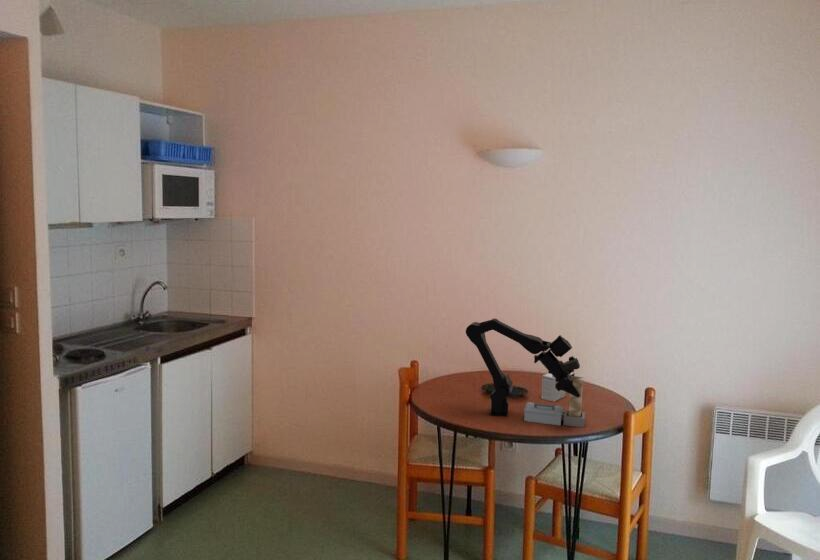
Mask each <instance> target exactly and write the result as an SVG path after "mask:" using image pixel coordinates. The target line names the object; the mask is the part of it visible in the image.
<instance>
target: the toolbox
mask: <svg viewBox="0 0 820 560" xmlns="http://www.w3.org/2000/svg"><path fill="white" fill-rule="evenodd" d="M564 410H565V411H564ZM523 413H524V414H523V415H524V418H523V420H524V422H529V423H537V424H545V425H554V426H561V424H562V422H563V426H570V427H577V428H584V426H585V422H586V412H584V411H581V416H580V417H573V416H569V409H568V410H567V409H565V406H562V405H556V404H555V405H554V404H546V403H539V402H530V401H528V402H526V405H525V408H524V410H523Z"/></svg>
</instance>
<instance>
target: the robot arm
mask: <svg viewBox="0 0 820 560" xmlns="http://www.w3.org/2000/svg"><path fill="white" fill-rule="evenodd" d="M490 331H494V332H497V333H498V334H500V335H502V336H504V337H506V338H509V339H510V340H512V341H514V342H516V343H518V344H519V345H521V346H522V347H523V349H525V350H526V351H528V352H529V353H530V354H532V355H534V356H533V359H534V360H533V363H534V364H537V363H538V362H540V363H541V364H542V365H543V367H545V369H546V370H547V371H548V372H547V373H549V374H552V375H553V376H554V378H555V381H556V384H555V388H556V389H557V390H558V391H560V390H563V391H565V393H568V394H569V395H570V394H572V395H574V396H576V397H579V396H580V394H579V393H578V391H577V390H576V388H575V387H574V385H573V379H571V377H572V376H576V375H575V374H576V373H575V370H579V369H580V367H581V364H580V362H579V359H578V358H577V357H576V358H575V357H574V356H573V355H572V356H569V357H568V360H567V361H565V362H563V360H559V359H558V358H559V357H560V358H562V357H563V356H564V355H566V354H567V353H569V351H570V350H572V349H573V346H572V345H571V343H570V342H569V340H567V339H566V338H565V337H563V336H562V335H560V334H559V335H558V336H557V338H555V339H554V340H553V341H551V342H550V341H547V340H543V339H542V338H541V337H539V336H535V335H532V334H528V333H524V332H521V330H518V329H516V328H514V327H512V326H510V325H508V324H506V323H504V322H502V321H501V320H500V319H498V318H495V317H494V318H492V319H489V320H485V321H482V322H478V321H473V322H472V323H470V324H469V325H467V327H466V329H465V334H466V337H468V339H469V341H470V342H471V343H472V344H474V346H475V347H476V348H477V350H478V352H479V355H481V358H482V359H483V362H484V363H485V366H486V367H487V370H488V371H489V374H490V375H491V377H492V383H493V387H494V390H493V391H492V392H491V394H490V395H489V398H490V408H489V413H490V415H491V416H503V417H504V416H505V417H507V416H508V412H509V402H508V398H507V397H509V395H510V394H511V392H512V391H513V388H514V387H513V384H514V383H513V381H512V380H511V377H510V374H509V373H507V374H506V375H505V374H504V373H503V371H502V369H501V367H500V365H499V363H498V361H497V360H496V357H495V356H494V353H493V352H492V350H491V348H490V347H489V344H488V342H487V338H486V333H488V332H490ZM571 373H572V374H571Z"/></svg>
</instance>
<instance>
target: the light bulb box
mask: <svg viewBox="0 0 820 560" xmlns="http://www.w3.org/2000/svg"><path fill="white" fill-rule="evenodd" d="M541 376H542V379H541V380H542V381H541V400H542V399H543V400H546V401H550V402H556V401H558V400H561V399H563V398H564V397H566V392H565V391H563V390H560V391H558V390H557V389H556V388H555V384H556V381H555V378H554V376H553V375H552V374H549V373H548V372H547V373H546V374H543V375H541Z"/></svg>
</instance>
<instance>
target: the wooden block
mask: <svg viewBox="0 0 820 560" xmlns="http://www.w3.org/2000/svg"><path fill="white" fill-rule="evenodd" d="M571 379H573V385H574V387H575V388H576V390H577V391H578V393H579V394H580V396H579V397H576V396H574V395H572V394H570V393H569V401H568V403H569V404H568V407H569V408H568V411H569V416H573V417H580V416H581V412H582V402H583V386H584V377H583V376H576V375H574V376H572V377H571Z"/></svg>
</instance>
